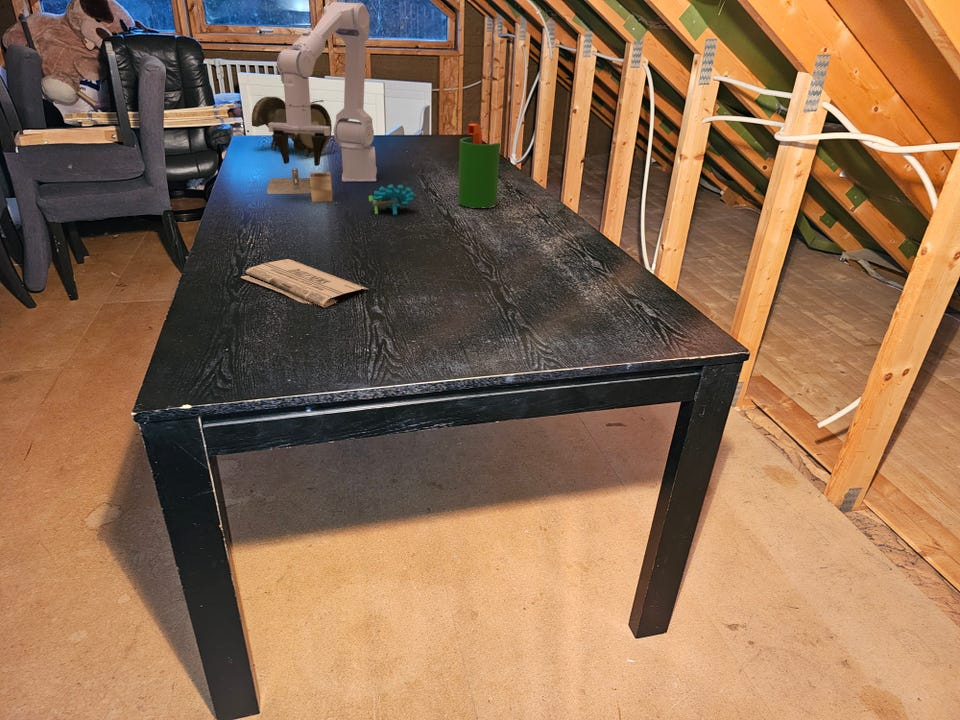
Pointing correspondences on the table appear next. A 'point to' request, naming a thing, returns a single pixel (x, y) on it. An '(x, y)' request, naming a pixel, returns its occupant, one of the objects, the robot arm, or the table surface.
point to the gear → (391, 198)
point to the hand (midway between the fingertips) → (301, 164)
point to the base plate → (289, 185)
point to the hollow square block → (321, 187)
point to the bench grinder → (276, 113)
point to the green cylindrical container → (478, 170)
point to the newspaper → (301, 282)
